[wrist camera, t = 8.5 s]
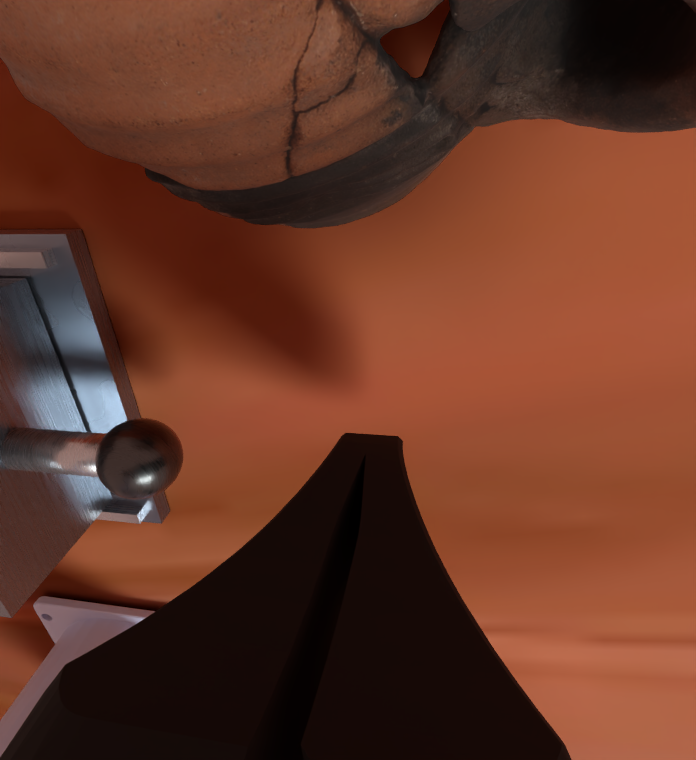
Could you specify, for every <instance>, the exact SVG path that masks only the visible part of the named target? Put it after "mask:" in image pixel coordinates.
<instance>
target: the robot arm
mask: <svg viewBox="0 0 696 760" xmlns="http://www.w3.org/2000/svg"><path fill="white" fill-rule="evenodd" d="M33 607H34V610H35V611H36V613H37V615H38V616H39V618H40V620H41V621H42V623H43V625H44V626H45V628H46V630H47V631H48V633H49V635H50V636H51V638H52V640H53V641H54V643H55V645H54V647H53V648H52V649H51V651H50V652H49V654H48V655H47V656H46V658H45V659H44V661H43V662H42V663H41V665H40V666H39V667H38V669H37V670H36V672H35V673H34V674H33V676H32V677H31V679H30V680H29V681H28V683H27V684H26V686H25V687H24V688H23V690H22V691H21V692H20V694H19V695H18V697H17V698H16V699H15V701H14V702H13V704H12V705H11V706H10V708H9V709H8V710H7V712H6V713H5V715H4V716H3V717H2V719H1V720H0V760H571V758H570V755H569V753H568V751H567V749H566V746H565V744H564V743H563V741H562V740H561V739H560V737H559V736H558V735H557V734H556V732H555V731H554V730H553V728H552V727H551V726H550V725H549V723H548V722H547V721H546V720H545V718H544V717H543V716H542V714H541V713H540V712H539V711H538V709H537V708H536V707H535V705H534V704H533V703H532V701H531V700H530V699H529V697H528V696H527V695H526V693H525V692H524V691H523V689H522V688H521V687H520V685H519V684H518V683H517V681H516V680H515V678H514V677H513V676H512V674H511V673H510V671H509V670H508V668H507V667H506V666H505V664H504V663H503V661H502V660H501V658H500V657H499V656H498V654H497V653H496V651H495V650H494V648H493V647H492V645H491V644H490V642H489V641H488V639H487V638H486V636H485V634H484V633H483V631H482V630H481V628H480V627H479V625H478V623H477V622H476V620H475V619H474V617H473V615H472V614H471V612H470V611H469V609H468V608H467V606H466V604H465V603H464V601H463V600H462V598H461V596H460V594H459V592H458V591H457V589H456V587H455V585H454V584H453V582H452V580H451V578H450V576H449V575H448V573H447V571H446V569H445V567H444V565H443V563H442V561H441V559H440V557H439V555H438V553H437V551H436V549H435V547H434V545H433V543H432V540H431V538H430V536H429V534H428V531H427V529H426V527H425V524H424V522H423V519H422V517H421V514H420V512H419V509H418V507H417V504H416V501H415V498H414V495H413V492H412V489H411V486H410V483H409V479H408V476H407V471H406V467H405V463H404V457H403V441H402V440H401V439H400V438H399V437H398V436H386V435H371V434H356V433H345V434H344V435H343V436H341V438H340V439H339V441H338V442H337V444H336V445H335V446H334V448H333V449H332V451H331V452H330V453H329V455H328V456H327V457H326V459H325V460H324V461H323V463H322V464H321V465H320V466H319V468H318V469H317V470H316V471H315V473H314V474H313V475H312V476H311V477H310V479H309V480H308V481H307V482H306V483H305V484H304V486H303V487H302V488H301V489H300V490H299V492H298V493H297V494H296V495H295V496H294V497H293V498H292V499H291V500H290V501H289V502H288V503H287V504H286V505H285V506H284V508H283V509H282V510H281V511H280V512H279V513H278V514H277V515H276V516H275V517H274V518H273V519H272V520H271V521H270V522H269V523H268V524H267V525H266V526H265V527H264V528H263V529H262V530H261V531H260V532H258V533H257V534H256V535H255V536H254V537H253V538H252V539H251V540H250V541H248V542H247V543H246V544H245V545H244V546H243V547H242V548H241V549H239V550H238V551H237V552H236V553H235V554H233V555H232V556H231V557H230V558H228V559H227V560H226V561H225V562H223V563H222V564H221V565H220V566H218V567H217V568H216V569H215V570H213V571H212V572H211V573H210V574H208V575H207V576H206V577H204V578H203V579H202V580H200V581H199V582H198V583H196V584H195V585H194V586H192V587H191V588H189V589H188V590H186V591H185V592H183V593H182V594H180V595H179V596H178V597H176V598H175V599H173V600H172V601H170V602H169V603H167V604H166V605H164V606H163V607H161V608H160V609H158V610H157V611H150V610H142V609H135V608H128V607H121V606H113V605H106V604H99V603H92V602H84V601H77V600H70V599H63V598H55V597H48V596H41V597H39V598H38V599H37V601H36V602H35V603H34V605H33Z"/></svg>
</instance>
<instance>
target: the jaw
mask: <svg viewBox="0 0 696 760" xmlns="http://www.w3.org/2000/svg"><path fill="white" fill-rule="evenodd" d="M182 463H183V449H182V445H181V442H180V440H179V438H178V437H177V435H176V434H175V432H174V431H173V430H172V429H171V428H169V427H168V426H167V425H165V424H163V423H161V422H159V421H156V420H152V419H147V418H138V419H132V420H128V421H125V422H123V423H120V424H119V425H117V426H115V427H114V428H112V429H111V430H110V431H109V432H108V433H107V434H106V433H92V432H86V429H85V427H84V424H83V422H82V419H81V416H80V414H79V411H78V409H77V406H76V404H75V401H74V399H73V396H72V393H71V391H70V388H69V386H68V383H67V381H66V378H65V376H64V373H63V371H62V368H61V365H60V363H59V360H58V358H57V355H56V353H55V350H54V348H53V345H52V342H51V340H50V337H49V335H48V332H47V330H46V327H45V325H44V322H43V320H42V317H41V314H40V312H39V309H38V307H37V304H36V302H35V299H34V297H33V294H32V291H31V289H30V286H29V284H28V281H27V279H26V278H0V616H1V617H8V618H12V617H13V616H14V615H15V614H16V613H17V611H18V610H19V609H20V608H21V607H22V605H23V604H24V603H25V602H26V601H27V600H28V598H29V597H30V596H31V595H32V594H33V592H34V591H35V590H36V589H37V588H38V587H39V585H40V584H41V583H42V582H43V581H44V579H45V578H46V577H47V576H48V575H49V574H50V572H51V571H52V570H53V569H54V568H55V566H56V565H57V564H58V563H59V562H60V561H61V559H62V558H63V557H64V556H65V555H66V553H67V552H68V551H69V550H70V549H71V548H72V546H73V545H74V544H75V543H76V542H77V541H78V539H79V538H80V537H81V536H82V535H83V533H84V532H85V531H86V530H87V529H88V528H89V526H90V525H91V524H92V523H93V522H94V520H95V519H96V518H97V517H98V516H99V515H100V513H101V512H102V511H103V510H104V509H105V507H106V506H107V505H108V504H109V503H110V502H111V500H112V499H113V498H112V495H111V493H110V491H111V492H112V493H114V494H116V495H118V496H120V497H123V498H127V499H145V498H149V497H153V496H155V495H157V494H159V493H161V492H163V491H164V490H165V489H167V488H168V487H169V486H170V485H171V484H172V483H173V482H174V481H175V479H176V478H177V476H178V474H179V472H180V470H181V467H182Z"/></svg>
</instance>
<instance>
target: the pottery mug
mask: <svg viewBox="0 0 696 760" xmlns="http://www.w3.org/2000/svg"><path fill="white" fill-rule="evenodd" d="M442 1H444V0H0V58H1V59H2V60H3V62H4V63H5V64H6V66H7V68H8V70H9V72H10V74H11V76H12V78H13V80H14V82H15V84H16V86H17V87H18V89H19V90H20V92H21V93H22V95H23V96H24V97H25V98H26V99H27V100H28V101H30V102H32V103H33V104H35V105H37V106H39V107H40V108H42V109H44V110H46V111H48V112H50V113H51V114H52V115H53V116H54V117H56V118H57V119H58V120H59V121H60V122H61V123H62V124H63V125H64V126H65V127H66V128H67V129H68V130H70V131H71V132H72V133H73V134H74V135H75V136H76V137H77V138H78V139H79V140H80V141H81V142H82V143H83V144H84V145H85V146H87V147H88V148H91V149H94V150H96V151H98V152H101V153H103V154H106V155H109V156H111V157H115V158H118V159H122V160H125V161H128V162H132V163H137V164H139V165H141V166H143V167H145V172H146V176H147V177H148V178H149V179H151V180H152V181H155V182H158V183H161V184H162V185H163V186H164V187H166V188H167V189H168V190H169V191H170V192H171V193H173V194H174V195H176V196H178V197H180V198H183V199H186V200H189V201H194V202H197V203H199V204H201V205H202V206H203V207H205V208H207V209H209V210H212V211H215V212H217V213H219V214H221V215H223V216H226V217H232V218H237V219H243V220H245V221H246V222H249V223H253V224H260V225H273V224H279V225H285V226H291V227H295V228H319V227H329V226H338V225H341V224H346V223H349V222H352V221H355V220H358V219H361V218H364V217H367V216H370V215H372V214H374V213H376V212H379V211H381V210H383V209H385V208H387V207H389V206H390V205H392V204H394V203H396V202H398V201H399V200H400V199H402V198H403V197H405V196H406V195H407V194H409V193H410V192H411V191H412V190H413V189H414V188H415V187H416V186H417V185H418V184H420V183H421V182H422V181H423V180H424V179H425V178H427V177H428V176H429V175H430V174H431V172H432V171H433V170H435V169H436V168H437V167H438V166H439V165H440V163H441V162H442V161H443V160H444V159H445V158H446V157H447V156H448V155H449V154H450V152H451V150H453V149H454V147H455V146H456V145H457V144H458V143H459V142H460V141H461V140H462V139H463V138H464V137H466V136H467V135H468V134H469V133H470V132H471V131H472V130H473V129H474V127H476V126H481V127H484V126H490V125H494V124H497V123H501V122H505V121H510V120H518V119H559V120H563V121H565V122H568V123H571V124H575V125H579V126H587V127H594V128H598V129H604V130H614V131H619V132H663V131H677V130H683V129H689V128H696V0H449V5H450V11H449V13H448V15H447V17H446V19H445V21H444V23H443V25H442V28H441V31H440V34H439V37H438V39H437V42H436V44H435V47H434V49H433V51H432V54H431V56H430V58H429V61H428V64H427V67H426V69H425V71H424V73H423V75H422V76H421V77H418V78H412V77H410V75H409V74H408V73H407V72H406V71H404V70H403V69H402V68H400V67H399V65H398V64H397V63H396V62H395V60H394V59H393V57H392V56H391V55H389V54H387V53H386V52H385V50H384V49H383V47H382V46H381V44H380V39H381V37H382V36H384V35H385V34H387V33H388V32H390V31H391V30H393V29H396V28H402V27H405V26H408V25H411V24H414V23H417V22H419V21H421V20H423V19H425V18H426V17H427V16H428V15H429V14H430V13H431V12H432V11H433V10H434V8H435V7H436V6H437V5H438V4H440V3H441V2H442Z"/></svg>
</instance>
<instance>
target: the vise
mask: <svg viewBox="0 0 696 760" xmlns="http://www.w3.org/2000/svg"><path fill="white" fill-rule="evenodd" d="M0 278H26V279H27V281H28V284H29V286H30V289H31V291H32V294H33V297H34V299H35V302H36V304H37V307H38V309H39V312H40V314H41V317H42V320H43V322H44V325H45V327H46V330H47V332H48V335H49V337H50V340H51V342H52V345H53V348H54V350H55V353H56V355H57V358H58V360H59V363H60V365H61V368H62V371H63V373H64V376H65V378H66V381H67V383H68V386H69V388H70V391H71V393H72V396H73V399H74V401H75V404H76V406H77V409H78V411H79V414H80V416H81V419H82V422H83V424H84V427H85V429H86V432H92V433H106V434H107V433H108V432H109V431H110V430H111V429H112V428H114V427H115V426H117V425H119V424H120V423H123V422H125V421H128V420H132V419H138V418H141V417H140V414H139V411H138V407H137V404H136V401H135V398H134V395H133V391H132V388H131V385H130V382H129V379H128V376H127V372H126V369H125V366H124V363H123V360H122V356H121V353H120V350H119V347H118V344H117V341H116V337H115V334H114V331H113V328H112V325H111V321H110V318H109V315H108V312H107V309H106V306H105V302H104V299H103V296H102V293H101V290H100V286H99V283H98V280H97V277H96V274H95V271H94V267H93V264H92V261H91V258H90V255H89V251H88V248H87V245H86V242H85V239H84V236H83V232H82V229H20V230H0ZM110 493H111V495H112V498H113V499H112V500H111V502H110V503H109V504H108V505H107V506H106V507H105V509H104V510H103V511H102V512H101V513H100V515H99V516H98V517H97V518H96V519H101V520H110V521H120V522H129V523H139V524H140V523H141V522H142V521H143V522H152V523H162V522H163V521H164V519H165V518H166V516H167V515H168V513H169V512H170V509H169V506H168V503H167V500H166V496H165V493H164V491H163V492H161V493H159V494H157V495H155V496H153V497H149V498H145V499H127V498H123V497H120V496H118V495H116V494H114V493H112V492H111V491H110Z"/></svg>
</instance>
